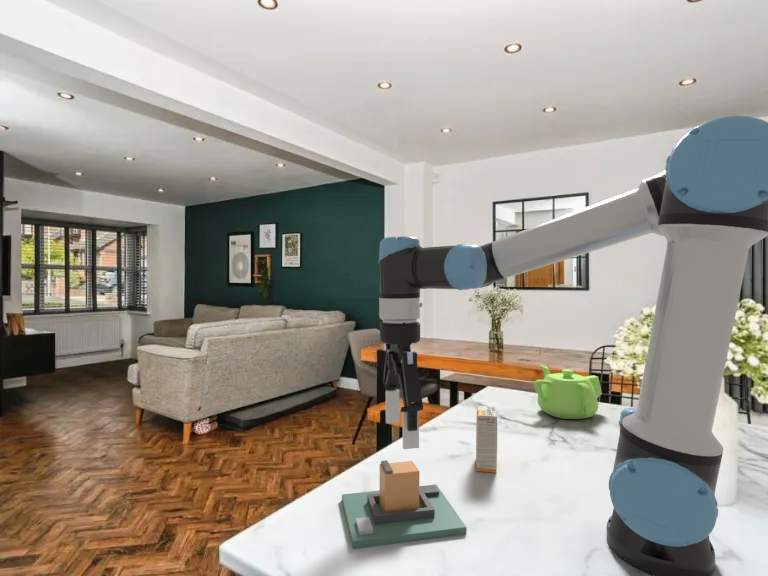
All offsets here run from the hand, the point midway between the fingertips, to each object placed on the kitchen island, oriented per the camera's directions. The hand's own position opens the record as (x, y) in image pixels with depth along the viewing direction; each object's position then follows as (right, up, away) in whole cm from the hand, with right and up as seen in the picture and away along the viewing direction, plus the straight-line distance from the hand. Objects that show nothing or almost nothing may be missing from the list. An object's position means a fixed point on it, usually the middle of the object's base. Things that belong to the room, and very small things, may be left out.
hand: (401, 434), depth 83 cm
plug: (0, -14, +1) cm, 14 cm away
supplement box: (+21, -15, +23) cm, 35 cm away
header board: (0, -16, +1) cm, 16 cm away
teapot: (+56, -14, +64) cm, 86 cm away
